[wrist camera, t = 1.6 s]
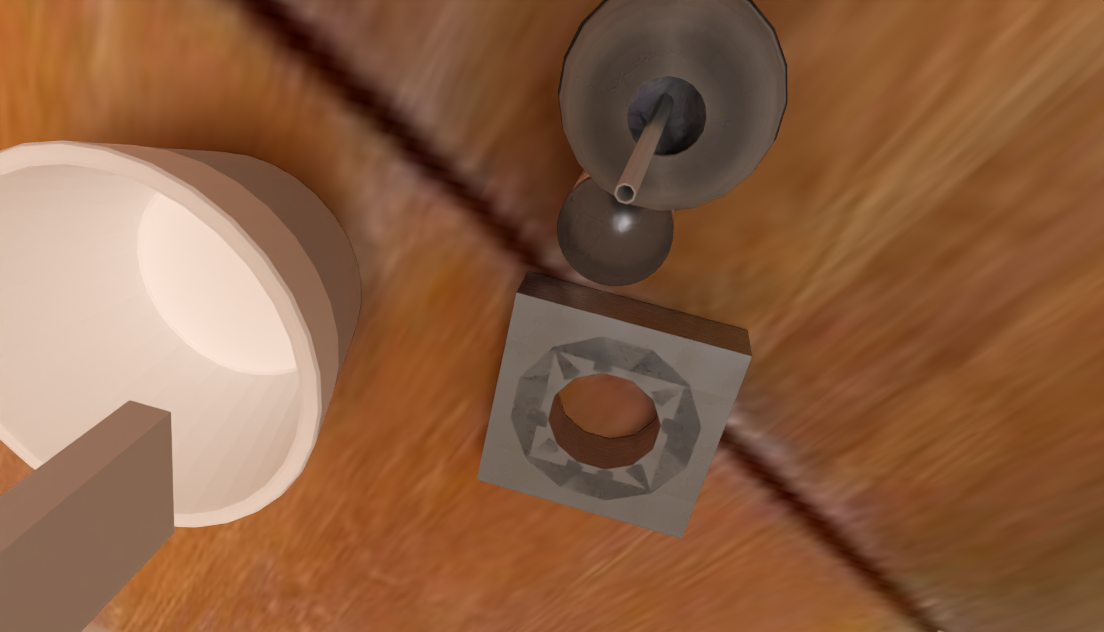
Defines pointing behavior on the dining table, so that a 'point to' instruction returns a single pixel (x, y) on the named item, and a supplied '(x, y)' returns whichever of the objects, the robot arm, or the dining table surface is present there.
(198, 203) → the bowl
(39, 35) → the dining table surface
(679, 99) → the beverage cup
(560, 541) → the dining table surface
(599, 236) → the cylindrical peg
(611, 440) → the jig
